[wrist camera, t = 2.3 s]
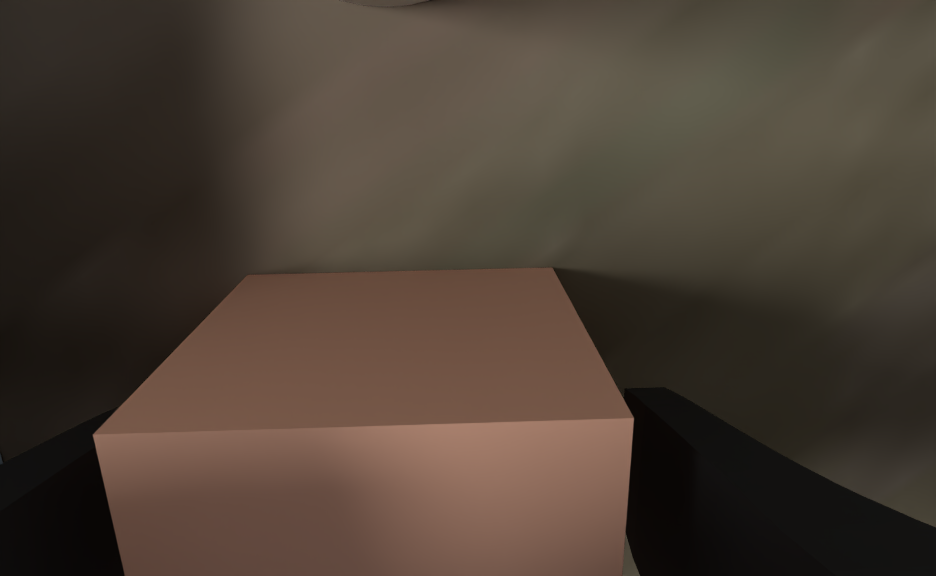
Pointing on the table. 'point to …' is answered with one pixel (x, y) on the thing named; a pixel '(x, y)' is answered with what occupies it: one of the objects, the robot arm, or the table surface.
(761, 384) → the table surface
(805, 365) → the table surface
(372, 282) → the cube
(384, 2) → the white egg shape
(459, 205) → the table surface
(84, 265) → the table surface
